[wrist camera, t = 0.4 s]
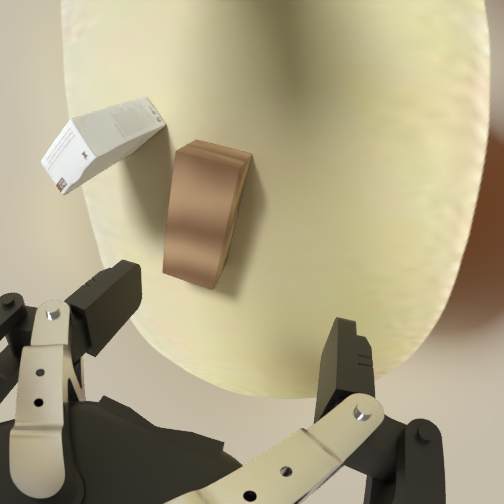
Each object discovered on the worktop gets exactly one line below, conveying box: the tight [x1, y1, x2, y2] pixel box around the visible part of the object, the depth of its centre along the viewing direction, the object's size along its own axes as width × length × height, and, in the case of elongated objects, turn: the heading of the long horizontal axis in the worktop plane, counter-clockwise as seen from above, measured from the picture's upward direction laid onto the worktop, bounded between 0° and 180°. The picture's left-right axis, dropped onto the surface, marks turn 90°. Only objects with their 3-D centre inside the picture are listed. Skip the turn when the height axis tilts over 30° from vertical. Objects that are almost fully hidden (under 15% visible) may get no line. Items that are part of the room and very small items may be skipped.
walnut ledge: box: [163, 140, 252, 290], centre depth 32 cm, size 14×6×5 cm, turn 166°
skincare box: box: [41, 97, 166, 195], centre depth 26 cm, size 6×4×12 cm
